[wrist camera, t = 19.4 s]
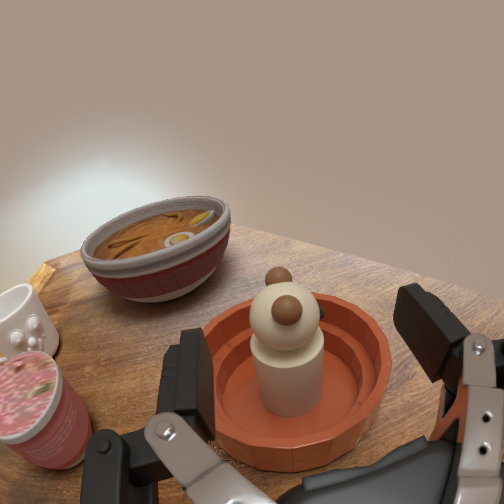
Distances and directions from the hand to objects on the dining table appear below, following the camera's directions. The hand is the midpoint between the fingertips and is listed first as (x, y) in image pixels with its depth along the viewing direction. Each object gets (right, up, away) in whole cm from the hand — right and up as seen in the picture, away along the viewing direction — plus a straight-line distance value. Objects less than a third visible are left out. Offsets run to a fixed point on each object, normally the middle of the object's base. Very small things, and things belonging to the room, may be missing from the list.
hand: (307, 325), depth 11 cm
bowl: (-15, -2, +33) cm, 37 cm away
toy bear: (+1, -9, +12) cm, 15 cm away
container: (-21, -16, +8) cm, 27 cm away
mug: (-33, -12, +18) cm, 40 cm away
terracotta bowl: (+1, -10, +12) cm, 16 cm away
